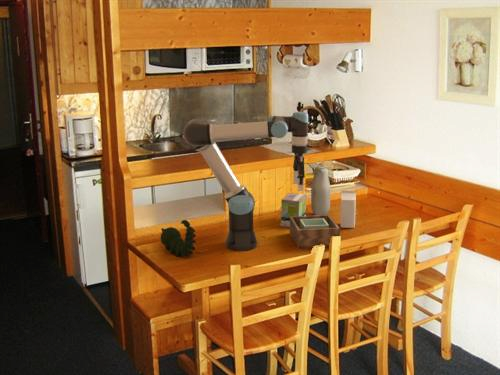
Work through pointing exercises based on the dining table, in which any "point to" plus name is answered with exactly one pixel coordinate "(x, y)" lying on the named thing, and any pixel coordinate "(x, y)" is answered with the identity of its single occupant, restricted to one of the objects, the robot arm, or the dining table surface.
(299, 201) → the tea box
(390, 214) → the dining table surface
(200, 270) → the dining table surface
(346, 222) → the milk carton
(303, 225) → the small green crate
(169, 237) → the toy figurine
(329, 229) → the walnut crate
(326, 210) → the glass bottle
